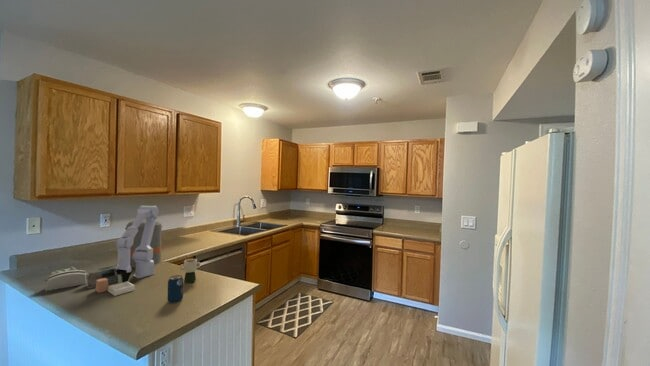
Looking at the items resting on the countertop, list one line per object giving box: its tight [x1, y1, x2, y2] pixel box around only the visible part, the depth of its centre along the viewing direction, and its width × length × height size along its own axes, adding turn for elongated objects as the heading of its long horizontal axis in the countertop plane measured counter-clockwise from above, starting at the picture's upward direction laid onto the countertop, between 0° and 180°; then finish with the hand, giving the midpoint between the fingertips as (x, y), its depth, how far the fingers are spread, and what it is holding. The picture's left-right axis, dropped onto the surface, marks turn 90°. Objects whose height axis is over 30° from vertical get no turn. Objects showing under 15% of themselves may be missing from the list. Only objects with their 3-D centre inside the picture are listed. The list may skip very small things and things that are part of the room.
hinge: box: [44, 269, 88, 292], centre depth 149 cm, size 17×5×10 cm, turn 134°
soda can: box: [167, 274, 184, 304], centre depth 136 cm, size 7×7×12 cm
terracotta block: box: [95, 278, 109, 294], centre depth 145 cm, size 4×4×6 cm
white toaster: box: [51, 266, 88, 276], centre depth 163 cm, size 14×6×15 cm
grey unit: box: [84, 265, 118, 289], centre depth 157 cm, size 18×6×8 cm, turn 147°
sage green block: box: [117, 274, 130, 284], centre depth 154 cm, size 4×4×6 cm
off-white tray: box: [107, 281, 136, 297], centre depth 146 cm, size 9×9×3 cm
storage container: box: [124, 219, 163, 269], centre depth 194 cm, size 22×22×35 cm
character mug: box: [179, 258, 201, 284], centre depth 161 cm, size 11×7×13 cm, turn 123°
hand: (123, 282), depth 154 cm, fingers closed on sage green block, 4 cm apart
